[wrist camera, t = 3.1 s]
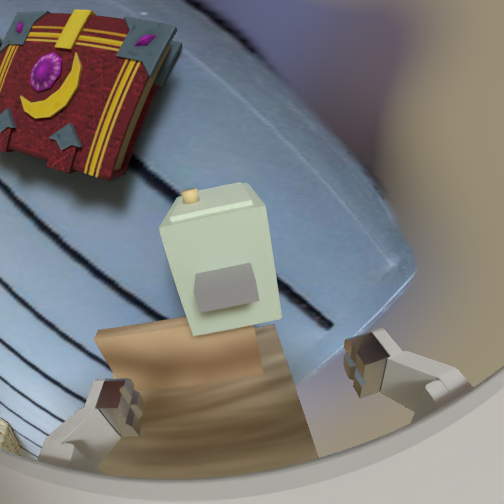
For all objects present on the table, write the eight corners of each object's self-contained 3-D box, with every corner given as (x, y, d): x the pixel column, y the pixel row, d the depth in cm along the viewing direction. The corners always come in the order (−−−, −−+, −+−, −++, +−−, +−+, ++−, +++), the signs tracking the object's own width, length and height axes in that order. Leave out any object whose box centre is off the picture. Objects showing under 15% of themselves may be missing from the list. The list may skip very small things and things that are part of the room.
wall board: (96, 301, 24) (19, 469, 7) (265, 269, 24) (343, 468, 8) (135, 376, 28) (110, 525, 11) (278, 353, 28) (329, 513, 12)
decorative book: (128, 177, 20) (106, 188, 16) (-6, 135, 16) (-39, 139, 12) (183, 45, 17) (175, 22, 12) (35, 24, 13) (7, 10, 8)
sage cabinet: (174, 184, 21) (144, 220, 12) (245, 170, 21) (269, 193, 12) (197, 277, 24) (192, 358, 15) (261, 263, 24) (289, 338, 15)
